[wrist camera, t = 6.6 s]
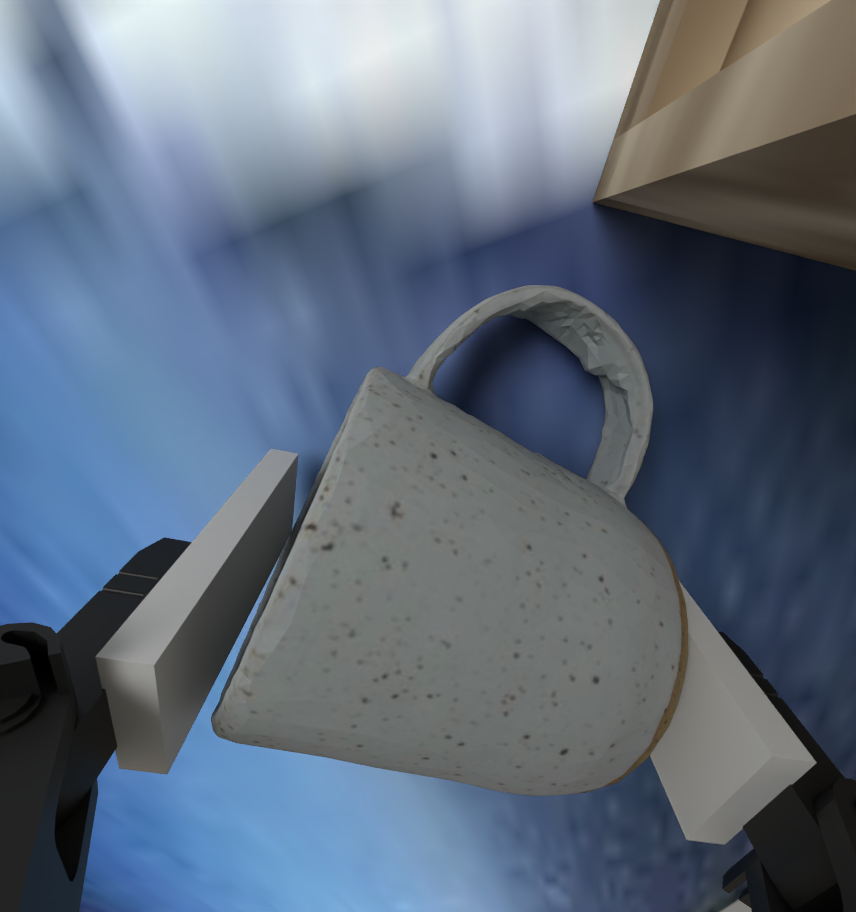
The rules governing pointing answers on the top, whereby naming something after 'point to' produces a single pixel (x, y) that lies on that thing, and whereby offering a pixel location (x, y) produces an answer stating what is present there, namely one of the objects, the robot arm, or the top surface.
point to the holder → (744, 125)
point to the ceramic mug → (471, 588)
